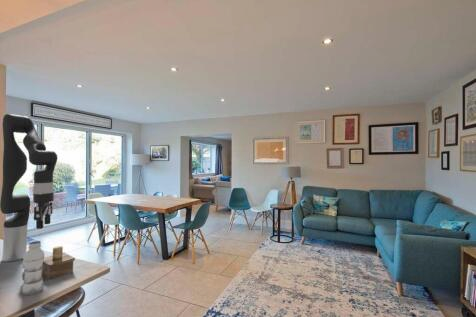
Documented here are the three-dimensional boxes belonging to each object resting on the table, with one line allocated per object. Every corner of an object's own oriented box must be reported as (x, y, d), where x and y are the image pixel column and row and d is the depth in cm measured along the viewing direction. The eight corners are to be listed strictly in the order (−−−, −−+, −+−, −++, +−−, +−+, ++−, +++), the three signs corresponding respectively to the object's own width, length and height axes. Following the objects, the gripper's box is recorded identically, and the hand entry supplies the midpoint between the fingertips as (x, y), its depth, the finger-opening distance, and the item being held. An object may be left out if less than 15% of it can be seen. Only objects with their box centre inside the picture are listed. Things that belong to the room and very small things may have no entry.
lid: (39, 263, 108) (40, 248, 108) (63, 256, 117) (64, 242, 117) (49, 270, 103) (50, 253, 103) (74, 262, 111) (75, 247, 111)
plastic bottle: (30, 298, 90) (33, 246, 90) (16, 296, 92) (19, 244, 92) (47, 289, 97) (49, 241, 97) (34, 287, 98) (36, 239, 98)
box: (40, 274, 108) (40, 261, 108) (62, 267, 116) (63, 255, 116) (49, 281, 103) (50, 267, 103) (72, 273, 111) (73, 260, 111)
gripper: (40, 191, 118) (40, 223, 118) (26, 194, 105) (26, 231, 105) (58, 190, 121) (58, 221, 121) (47, 193, 107) (47, 229, 107)
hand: (43, 226), depth 113 cm, fingers open, 8 cm apart
